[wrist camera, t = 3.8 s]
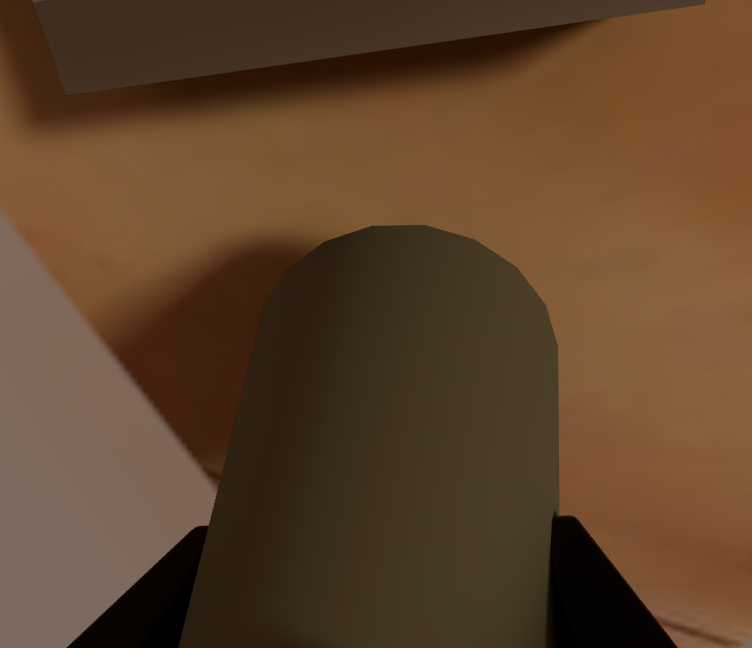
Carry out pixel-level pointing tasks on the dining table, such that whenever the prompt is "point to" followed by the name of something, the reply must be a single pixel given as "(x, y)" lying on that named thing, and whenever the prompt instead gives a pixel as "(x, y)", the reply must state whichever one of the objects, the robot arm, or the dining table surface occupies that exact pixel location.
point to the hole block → (276, 32)
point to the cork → (389, 457)
